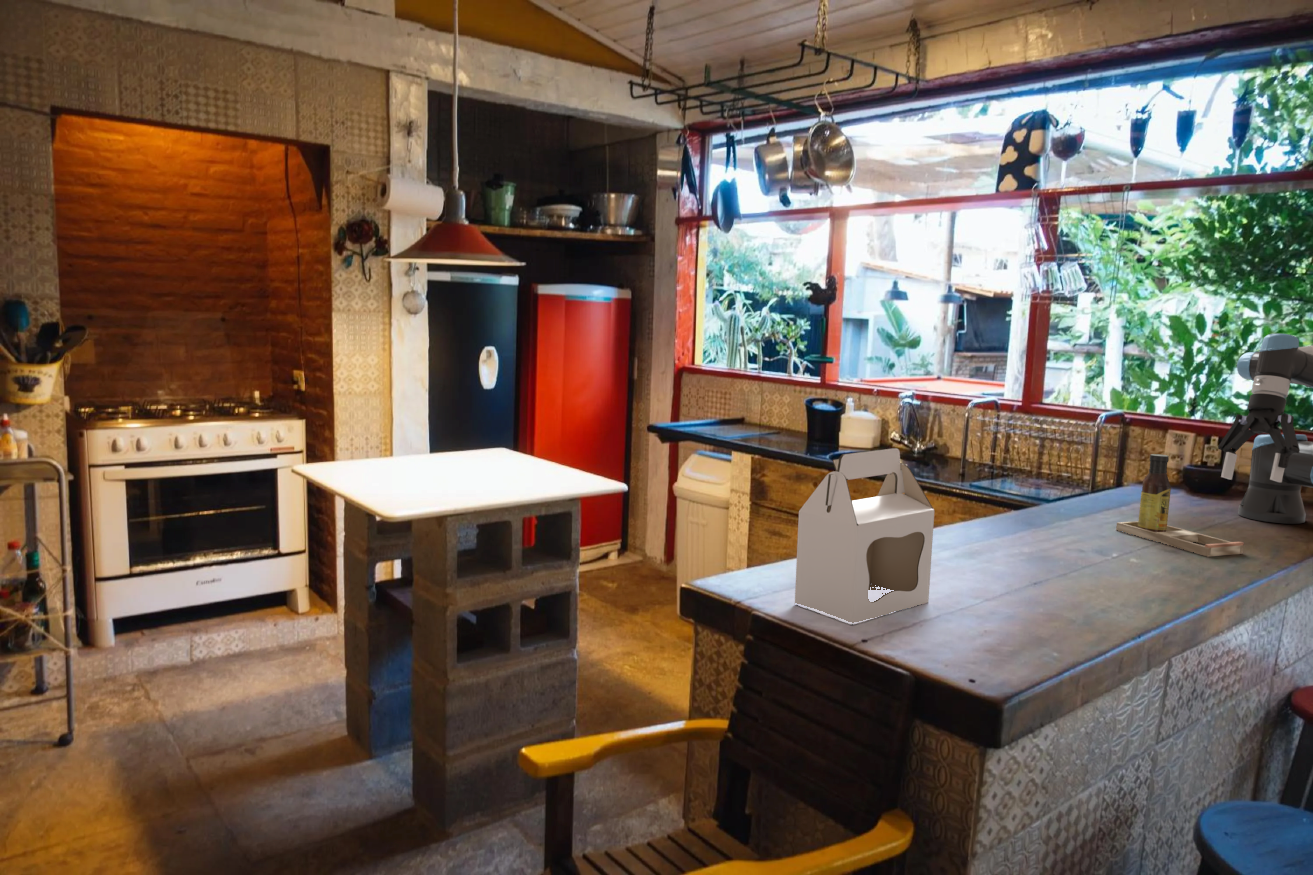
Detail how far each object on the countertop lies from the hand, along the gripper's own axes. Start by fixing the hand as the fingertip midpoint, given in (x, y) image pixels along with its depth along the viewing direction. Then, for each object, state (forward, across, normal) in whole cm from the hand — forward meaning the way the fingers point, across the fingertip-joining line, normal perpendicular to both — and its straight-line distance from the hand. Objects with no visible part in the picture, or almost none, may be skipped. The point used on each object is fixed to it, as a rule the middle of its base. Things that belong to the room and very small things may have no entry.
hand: (1250, 479), depth 221 cm
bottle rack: (+20, -1, -17) cm, 26 cm away
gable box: (+50, +29, -110) cm, 124 cm away
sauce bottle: (+19, -8, -18) cm, 27 cm away
